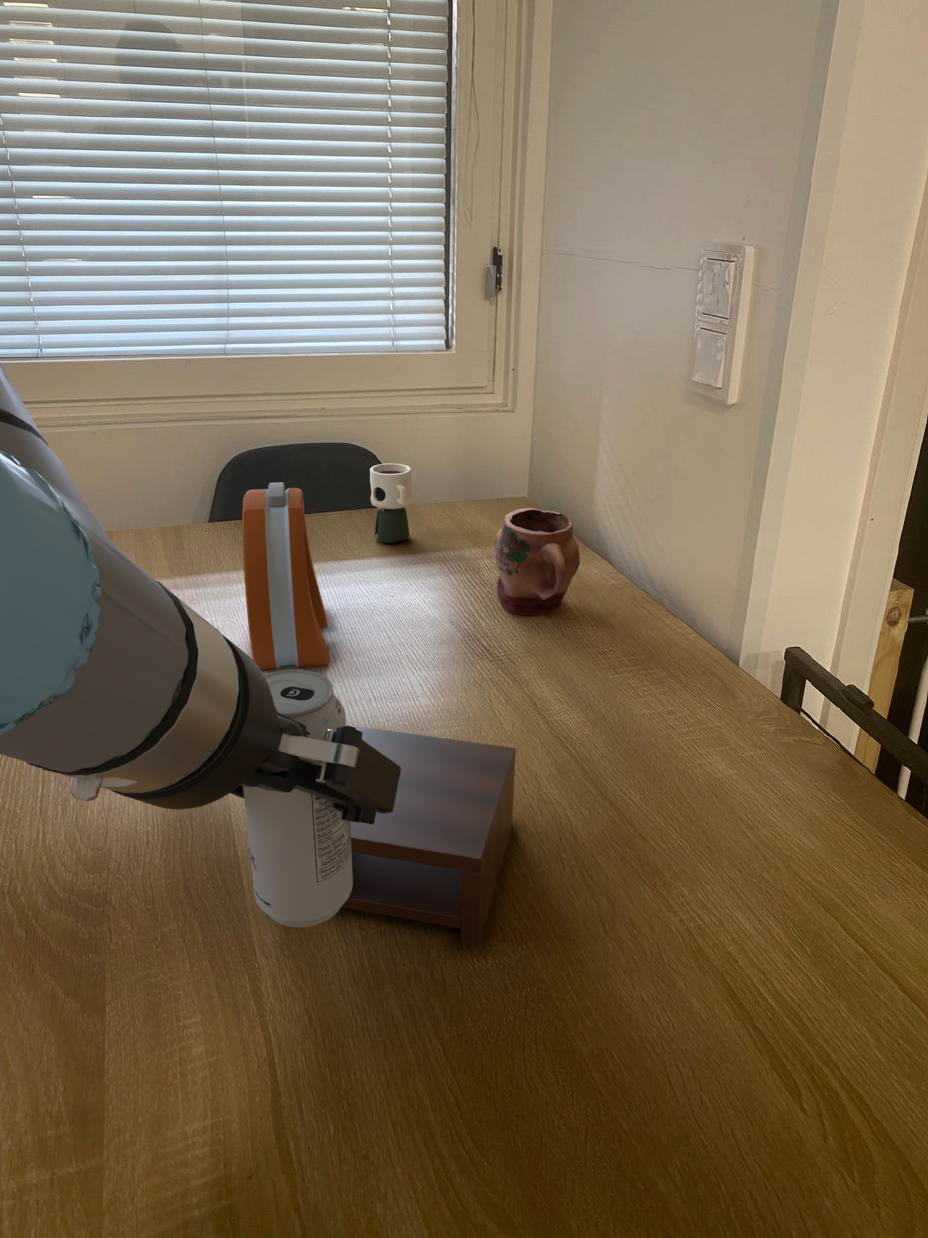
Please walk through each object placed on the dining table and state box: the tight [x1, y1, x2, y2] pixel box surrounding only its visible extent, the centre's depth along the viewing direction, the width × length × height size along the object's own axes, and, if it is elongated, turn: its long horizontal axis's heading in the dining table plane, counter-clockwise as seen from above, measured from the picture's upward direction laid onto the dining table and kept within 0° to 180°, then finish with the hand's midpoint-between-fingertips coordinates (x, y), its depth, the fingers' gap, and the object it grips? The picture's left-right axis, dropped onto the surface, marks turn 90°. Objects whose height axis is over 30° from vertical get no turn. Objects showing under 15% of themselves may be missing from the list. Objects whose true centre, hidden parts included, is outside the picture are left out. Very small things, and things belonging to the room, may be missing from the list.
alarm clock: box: [241, 481, 331, 671], centre depth 120 cm, size 22×10×23 cm, turn 9°
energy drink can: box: [243, 669, 353, 928], centre depth 53 cm, size 6×6×15 cm
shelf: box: [341, 724, 517, 947], centre depth 82 cm, size 16×18×10 cm
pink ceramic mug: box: [493, 507, 581, 616], centre depth 134 cm, size 20×12×14 cm, turn 22°
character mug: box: [369, 462, 413, 543], centre depth 159 cm, size 11×7×13 cm, turn 28°
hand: (321, 793), depth 58 cm, fingers closed on energy drink can, 6 cm apart
